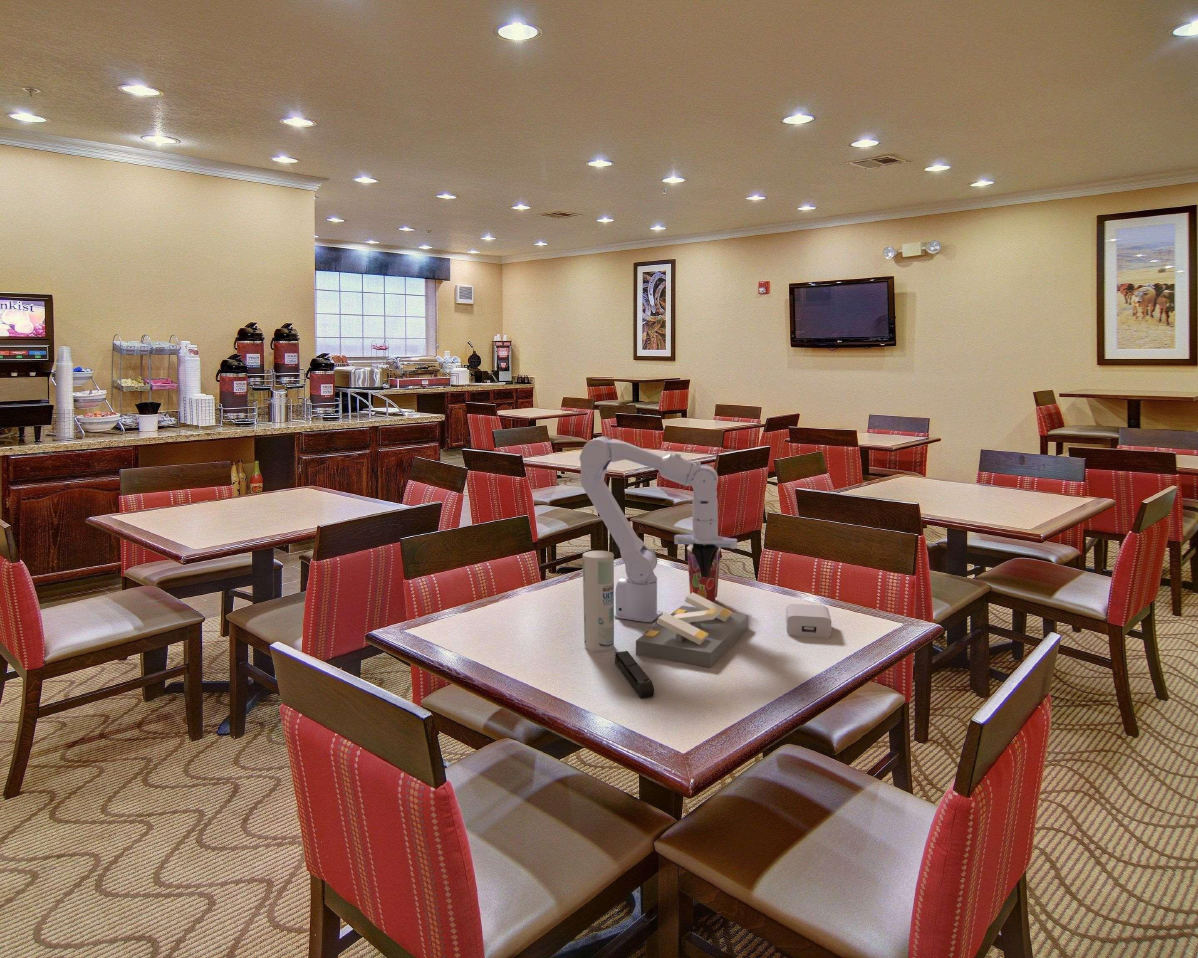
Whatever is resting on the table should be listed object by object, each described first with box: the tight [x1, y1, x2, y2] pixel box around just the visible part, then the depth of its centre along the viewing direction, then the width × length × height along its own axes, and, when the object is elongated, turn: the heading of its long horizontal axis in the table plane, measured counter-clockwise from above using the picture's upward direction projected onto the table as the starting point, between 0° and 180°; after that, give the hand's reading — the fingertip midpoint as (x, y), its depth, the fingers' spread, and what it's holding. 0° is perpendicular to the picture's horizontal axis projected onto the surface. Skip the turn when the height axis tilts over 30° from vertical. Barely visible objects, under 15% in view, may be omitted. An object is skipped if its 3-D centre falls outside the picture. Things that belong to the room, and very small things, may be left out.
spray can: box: [582, 550, 615, 652], centre depth 159 cm, size 6×6×20 cm
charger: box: [785, 603, 832, 638], centre depth 171 cm, size 5×9×15 cm
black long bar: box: [614, 650, 655, 699], centre depth 142 cm, size 18×3×3 cm, turn 14°
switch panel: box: [635, 605, 750, 668], centre depth 162 cm, size 16×26×4 cm, turn 153°
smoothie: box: [686, 544, 722, 603], centre depth 190 cm, size 8×8×20 cm
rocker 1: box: [656, 611, 708, 645], centre depth 155 cm, size 10×4×1 cm, turn 64°
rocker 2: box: [674, 609, 719, 623], centre depth 162 cm, size 10×4×1 cm, turn 62°
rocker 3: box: [684, 592, 733, 622], centre depth 169 cm, size 10×4×1 cm, turn 64°
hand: (705, 576), depth 175 cm, fingers closed
